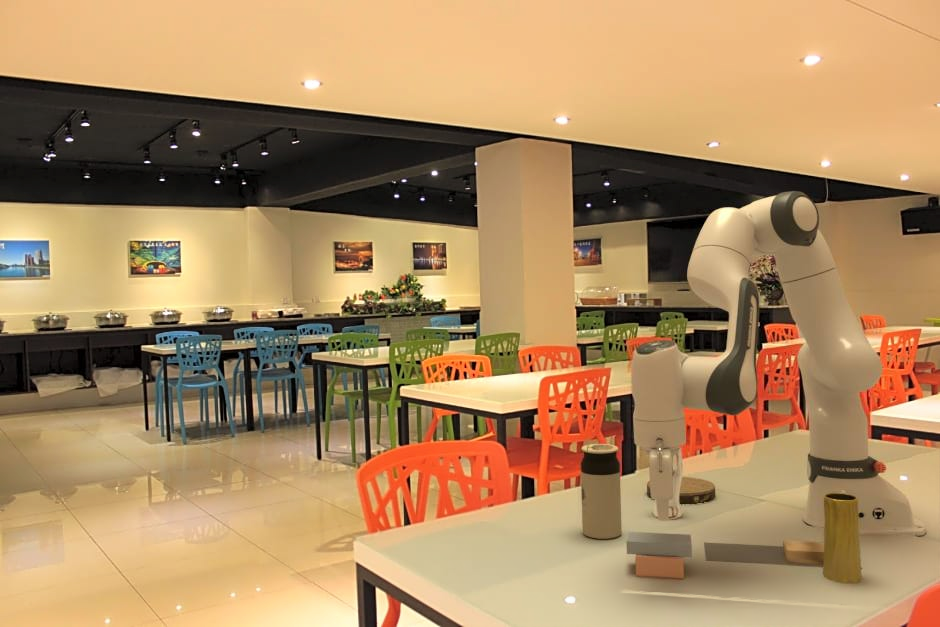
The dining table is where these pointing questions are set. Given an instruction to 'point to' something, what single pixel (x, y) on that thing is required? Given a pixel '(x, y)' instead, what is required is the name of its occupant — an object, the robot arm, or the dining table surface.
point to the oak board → (803, 552)
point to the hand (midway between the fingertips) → (663, 511)
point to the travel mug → (601, 491)
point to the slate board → (659, 544)
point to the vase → (841, 538)
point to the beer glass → (674, 488)
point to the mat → (748, 554)
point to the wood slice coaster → (693, 491)
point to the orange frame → (659, 566)
